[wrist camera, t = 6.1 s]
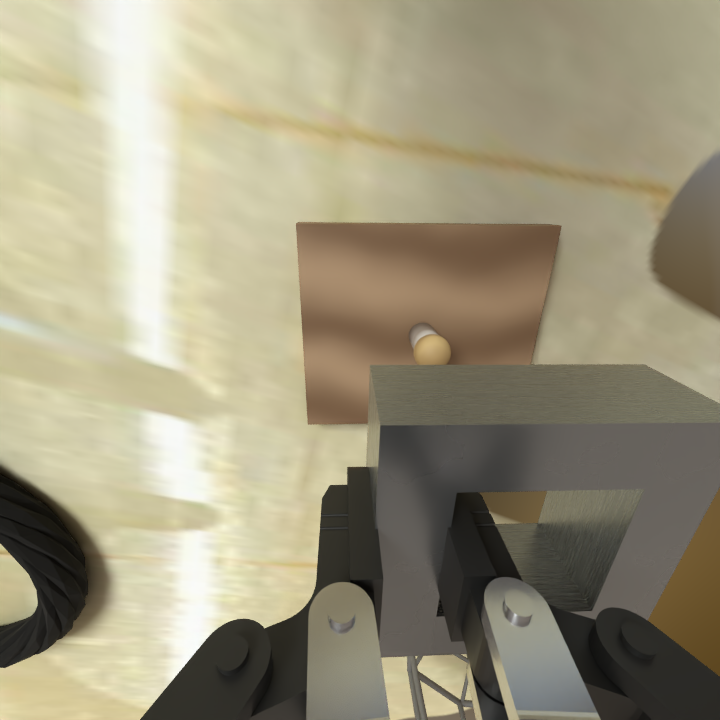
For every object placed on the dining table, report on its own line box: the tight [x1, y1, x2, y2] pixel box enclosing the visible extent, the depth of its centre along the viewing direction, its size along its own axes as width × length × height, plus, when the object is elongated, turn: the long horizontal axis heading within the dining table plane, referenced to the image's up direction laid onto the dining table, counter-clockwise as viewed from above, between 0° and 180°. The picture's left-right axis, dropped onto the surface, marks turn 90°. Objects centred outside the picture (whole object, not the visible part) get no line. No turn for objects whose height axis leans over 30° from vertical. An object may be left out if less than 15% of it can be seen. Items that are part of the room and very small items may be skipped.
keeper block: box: [296, 222, 561, 424], centre depth 23 cm, size 14×16×6 cm
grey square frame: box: [366, 365, 720, 657], centre depth 10 cm, size 8×8×3 cm
